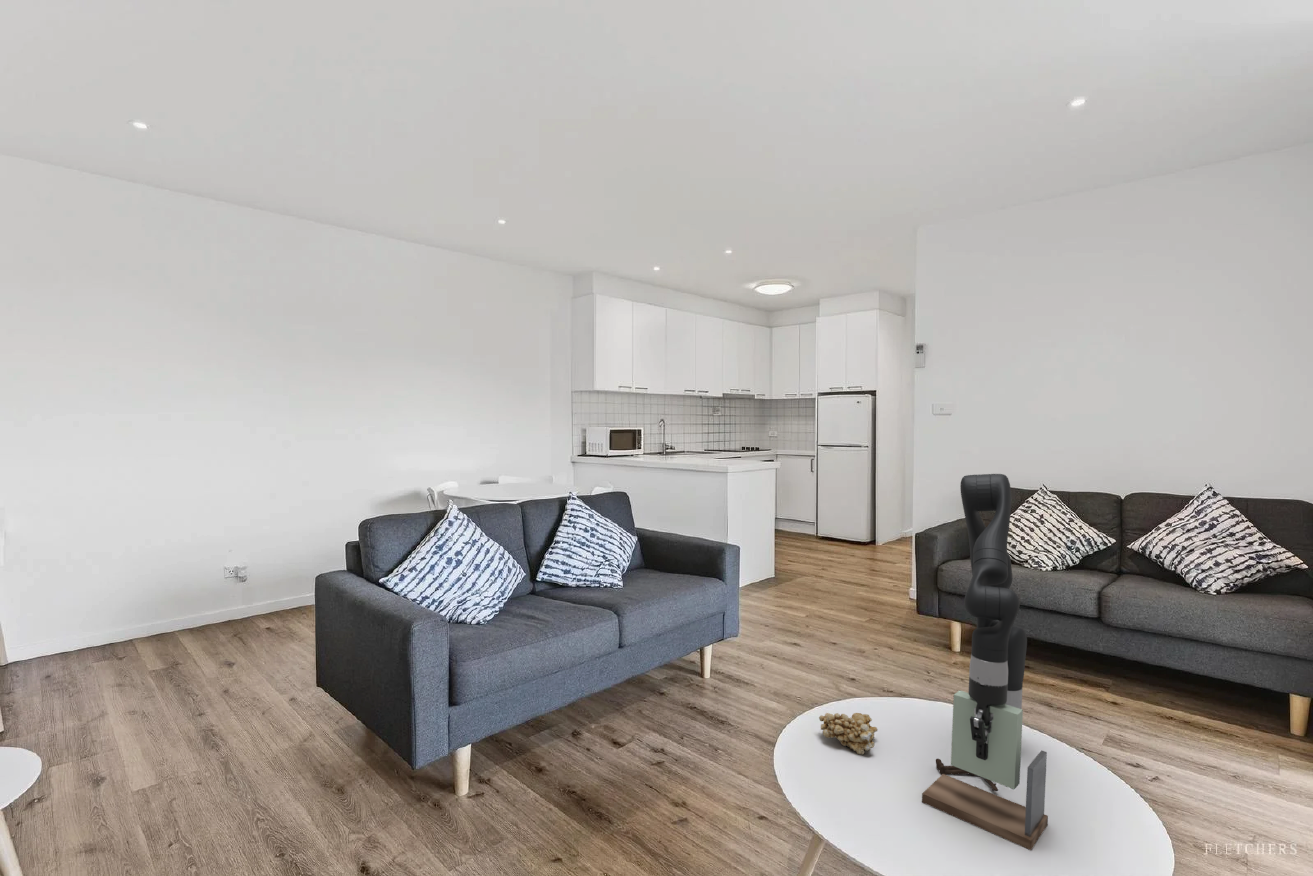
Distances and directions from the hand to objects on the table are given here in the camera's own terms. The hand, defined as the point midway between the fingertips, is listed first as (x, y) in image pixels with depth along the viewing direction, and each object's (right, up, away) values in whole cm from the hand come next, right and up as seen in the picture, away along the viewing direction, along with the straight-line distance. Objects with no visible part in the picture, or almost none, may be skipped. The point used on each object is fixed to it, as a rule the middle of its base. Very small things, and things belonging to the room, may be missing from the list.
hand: (984, 754), depth 141 cm
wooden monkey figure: (+4, -13, +17) cm, 22 cm away
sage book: (0, -4, 0) cm, 4 cm away
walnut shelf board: (0, -13, 0) cm, 13 cm away
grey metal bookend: (+7, -11, -7) cm, 15 cm away
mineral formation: (-21, -12, +31) cm, 39 cm away
